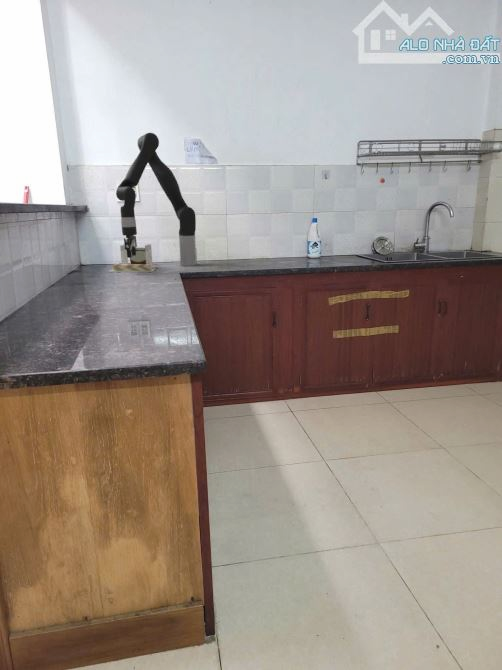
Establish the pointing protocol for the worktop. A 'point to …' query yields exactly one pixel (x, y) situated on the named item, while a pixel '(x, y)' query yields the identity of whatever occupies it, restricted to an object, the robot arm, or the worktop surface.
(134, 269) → the rail
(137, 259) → the food container
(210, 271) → the worktop surface
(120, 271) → the mat
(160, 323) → the worktop surface
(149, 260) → the rack
